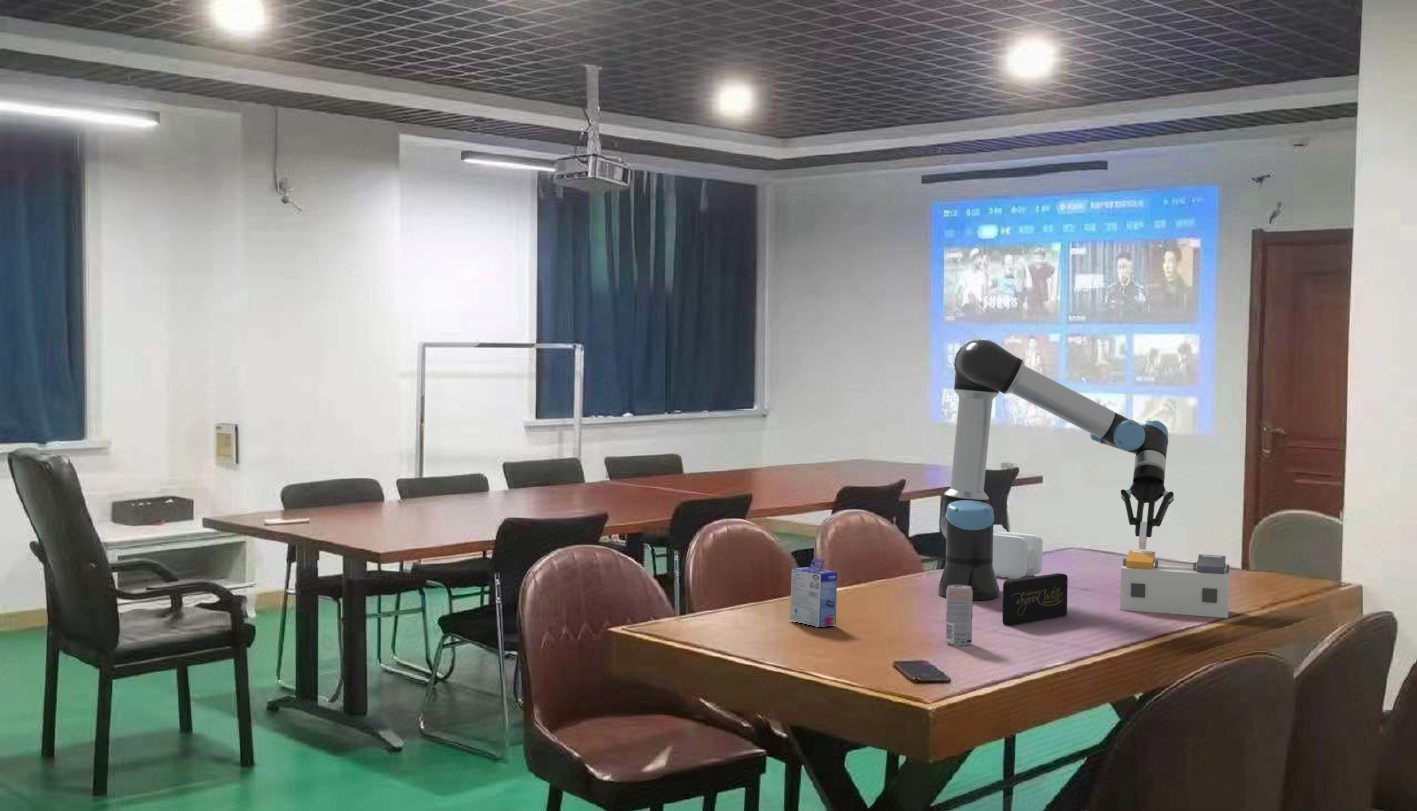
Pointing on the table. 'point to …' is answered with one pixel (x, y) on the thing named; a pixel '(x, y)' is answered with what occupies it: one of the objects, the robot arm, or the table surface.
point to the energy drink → (959, 615)
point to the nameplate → (1034, 599)
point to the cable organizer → (1017, 554)
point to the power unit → (1175, 590)
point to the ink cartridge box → (813, 595)
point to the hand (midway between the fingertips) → (1142, 545)
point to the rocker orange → (1140, 559)
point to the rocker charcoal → (1211, 564)
